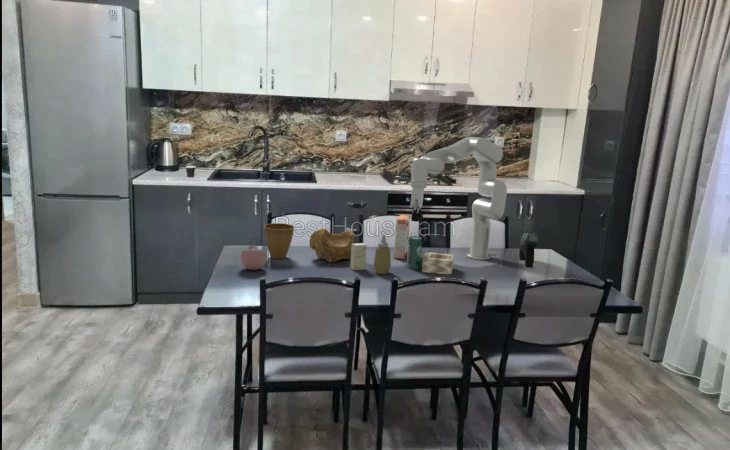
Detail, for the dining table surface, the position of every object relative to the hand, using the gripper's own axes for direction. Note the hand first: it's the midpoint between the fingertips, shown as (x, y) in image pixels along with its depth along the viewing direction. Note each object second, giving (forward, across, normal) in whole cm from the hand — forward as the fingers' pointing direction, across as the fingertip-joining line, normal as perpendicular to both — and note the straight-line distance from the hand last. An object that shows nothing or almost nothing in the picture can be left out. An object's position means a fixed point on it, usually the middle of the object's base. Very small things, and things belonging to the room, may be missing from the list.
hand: (415, 219), depth 263 cm
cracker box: (+24, -20, -9) cm, 32 cm away
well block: (+24, 0, +12) cm, 27 cm away
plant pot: (+25, +7, -67) cm, 71 cm away
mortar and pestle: (+25, +31, -70) cm, 80 cm away
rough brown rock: (+25, +1, -40) cm, 47 cm away
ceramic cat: (+24, -31, +55) cm, 68 cm away
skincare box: (+24, +12, -25) cm, 37 cm away
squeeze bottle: (+24, +14, -13) cm, 31 cm away
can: (+24, 0, 0) cm, 24 cm away
